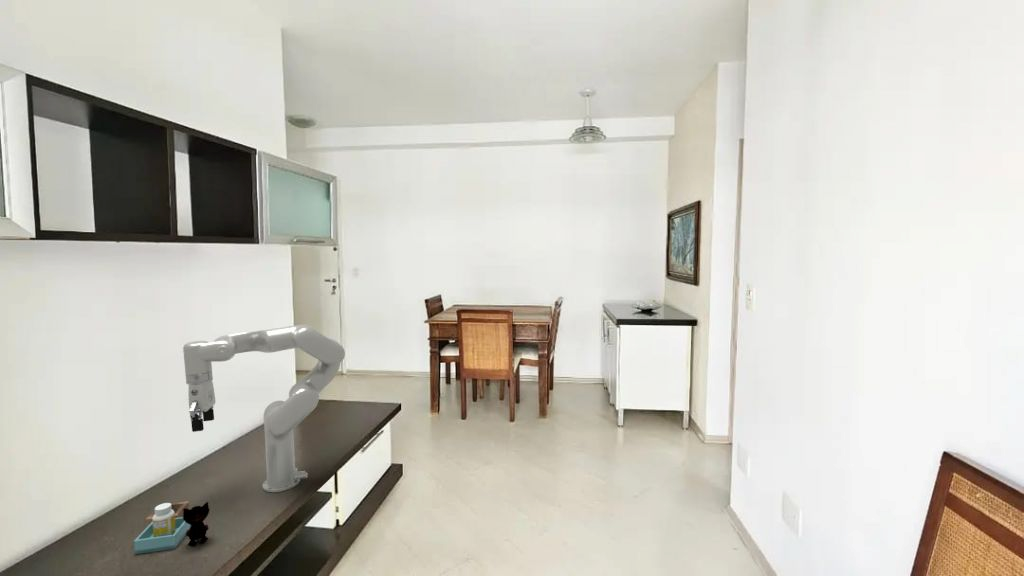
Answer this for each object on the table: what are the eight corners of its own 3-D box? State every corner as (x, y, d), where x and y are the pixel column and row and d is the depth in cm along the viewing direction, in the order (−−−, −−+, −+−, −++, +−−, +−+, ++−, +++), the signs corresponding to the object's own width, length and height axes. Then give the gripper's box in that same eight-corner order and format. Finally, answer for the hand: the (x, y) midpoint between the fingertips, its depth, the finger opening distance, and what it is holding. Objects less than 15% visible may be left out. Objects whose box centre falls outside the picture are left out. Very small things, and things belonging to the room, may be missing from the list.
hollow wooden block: (189, 510, 152) (189, 501, 152) (177, 525, 144) (176, 515, 143) (160, 514, 150) (159, 504, 150) (146, 529, 142) (145, 519, 141)
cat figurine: (211, 532, 140) (209, 495, 139) (213, 544, 134) (210, 505, 134) (183, 541, 136) (180, 503, 135) (183, 553, 130) (181, 514, 129)
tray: (191, 528, 142) (190, 516, 142) (175, 548, 132) (174, 535, 132) (153, 533, 140) (152, 521, 140) (134, 554, 130) (133, 541, 130)
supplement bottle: (160, 544, 133) (158, 513, 132) (149, 539, 135) (147, 509, 134) (179, 533, 138) (177, 503, 137) (169, 529, 140) (167, 500, 139)
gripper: (202, 383, 147) (206, 433, 148) (220, 370, 163) (224, 415, 165) (175, 385, 145) (180, 436, 146) (196, 372, 161) (200, 418, 163)
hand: (203, 425), depth 156 cm, fingers open, 9 cm apart
